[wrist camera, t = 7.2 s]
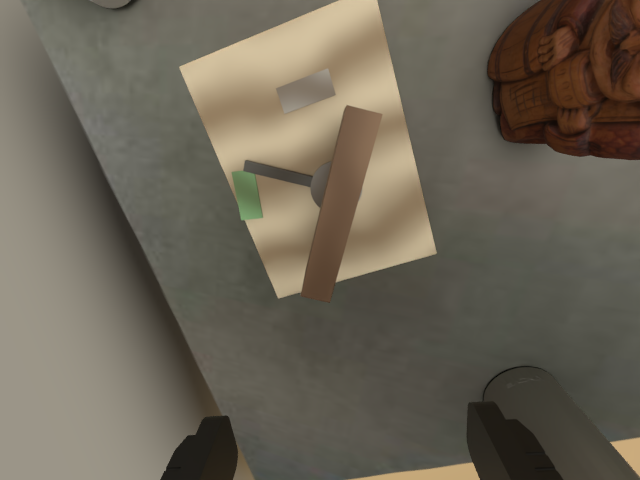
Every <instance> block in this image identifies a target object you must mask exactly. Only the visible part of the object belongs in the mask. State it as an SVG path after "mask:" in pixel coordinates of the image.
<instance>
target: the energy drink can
mask: <svg viewBox="0 0 640 480" xmlns="http://www.w3.org/2000/svg"><path fill="white" fill-rule="evenodd" d="M89 1H91V2H93V3H95V4H97V5H99V6H101V7H105V8H118V7H122V6H124V5H126V4H127V3H128V2H129V1H131V0H89Z"/></svg>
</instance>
